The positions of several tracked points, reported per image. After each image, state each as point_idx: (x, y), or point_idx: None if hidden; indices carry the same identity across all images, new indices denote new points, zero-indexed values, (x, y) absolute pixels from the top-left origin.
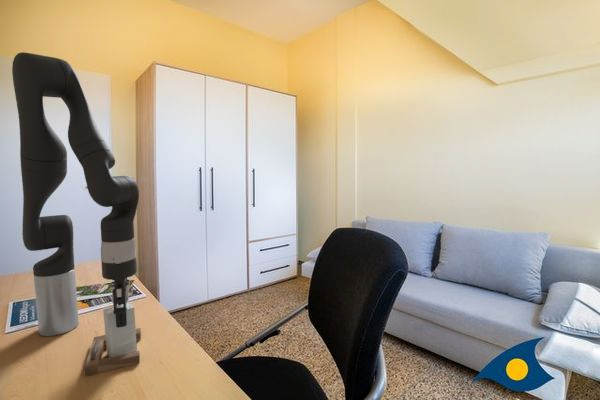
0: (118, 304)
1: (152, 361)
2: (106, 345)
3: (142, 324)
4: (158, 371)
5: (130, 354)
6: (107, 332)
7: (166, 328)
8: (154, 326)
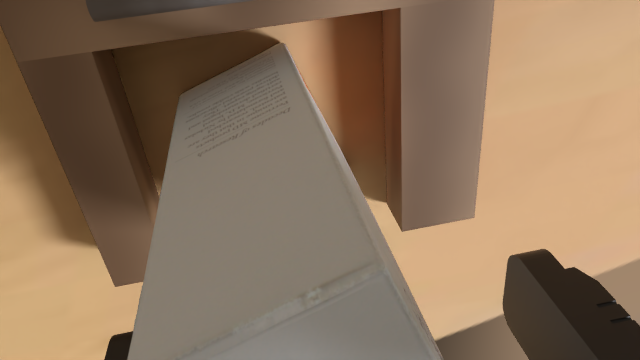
0: (565, 324)
1: (128, 304)
2: (281, 65)
3: (580, 172)
4: (28, 345)
5: (131, 241)
6: (212, 169)
7: (455, 298)
8: (513, 240)
